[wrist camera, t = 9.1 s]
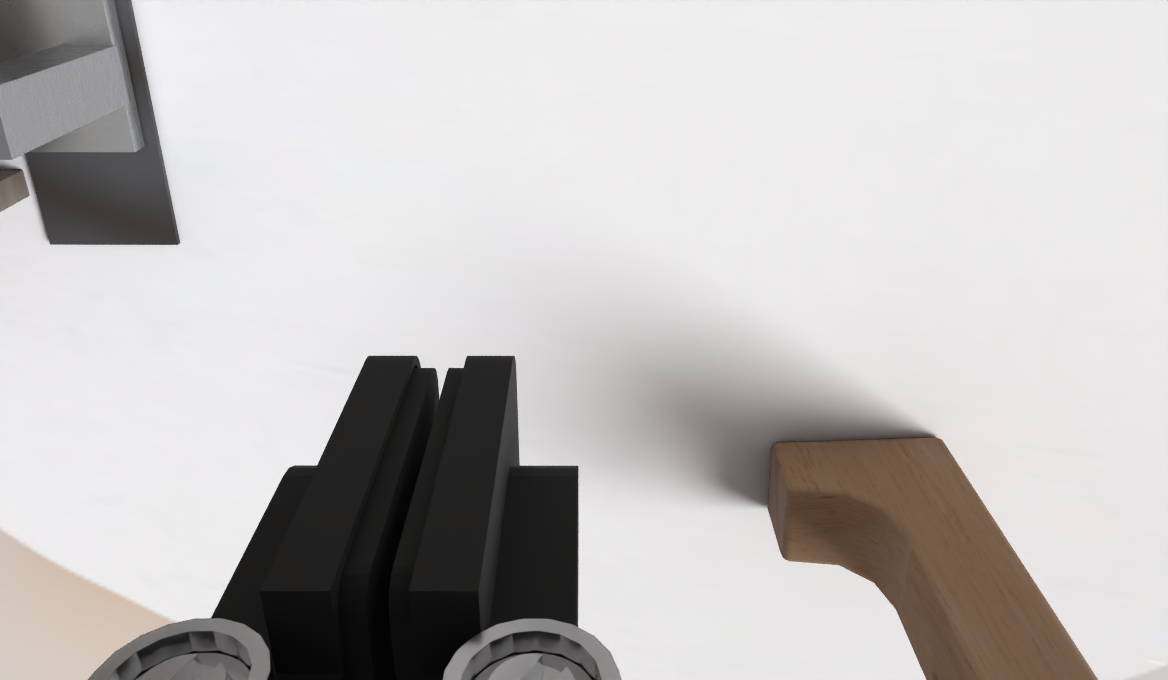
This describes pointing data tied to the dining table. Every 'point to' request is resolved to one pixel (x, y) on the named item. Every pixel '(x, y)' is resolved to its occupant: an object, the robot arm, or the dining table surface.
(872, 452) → the wooden block
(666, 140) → the dining table surface
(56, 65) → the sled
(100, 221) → the tunnel
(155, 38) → the dining table surface
